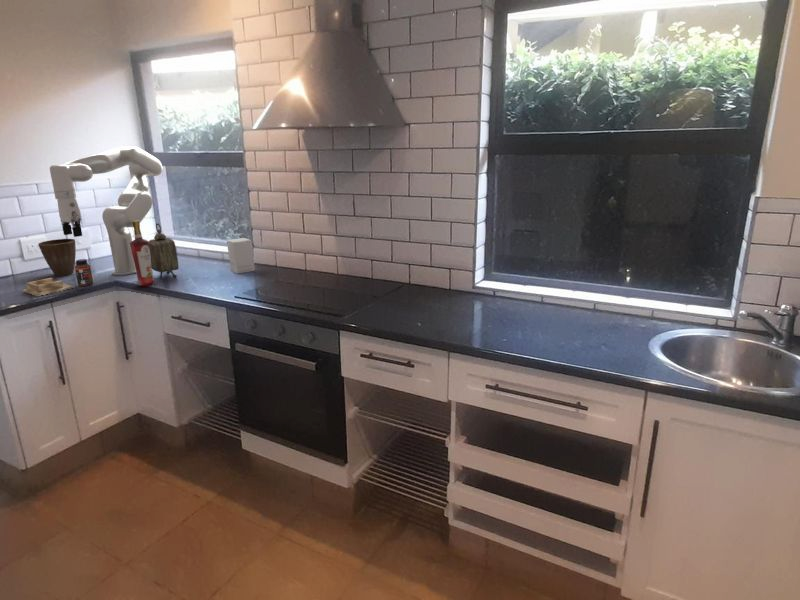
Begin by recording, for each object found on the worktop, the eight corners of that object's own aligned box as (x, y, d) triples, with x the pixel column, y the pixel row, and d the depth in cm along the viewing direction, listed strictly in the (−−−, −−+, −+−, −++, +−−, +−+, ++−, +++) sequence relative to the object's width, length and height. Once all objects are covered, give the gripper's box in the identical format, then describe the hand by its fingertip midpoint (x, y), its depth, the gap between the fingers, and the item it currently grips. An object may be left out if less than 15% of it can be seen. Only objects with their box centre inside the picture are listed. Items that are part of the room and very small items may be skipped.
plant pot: (60, 279, 245) (53, 245, 241) (38, 277, 250) (30, 243, 246) (88, 271, 259) (82, 239, 254) (66, 269, 264) (59, 238, 259)
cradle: (59, 284, 236) (57, 275, 235) (73, 288, 228) (71, 279, 227) (23, 291, 225) (21, 282, 224) (37, 296, 217) (35, 287, 216)
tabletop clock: (180, 278, 240) (172, 224, 233) (159, 282, 235) (150, 226, 227) (171, 273, 251) (162, 220, 244) (151, 276, 245) (141, 223, 238)
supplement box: (255, 271, 251) (252, 239, 246) (237, 274, 246) (233, 242, 241) (248, 267, 258) (244, 237, 253) (230, 270, 253) (226, 239, 248)
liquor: (148, 282, 235) (138, 219, 227) (159, 284, 232) (148, 220, 224) (133, 286, 229) (122, 221, 221) (144, 288, 226) (133, 222, 218)
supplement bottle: (86, 286, 231) (81, 261, 227) (75, 286, 232) (69, 261, 228) (96, 283, 236) (91, 258, 233) (85, 282, 237) (80, 258, 234)
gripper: (84, 195, 220) (91, 235, 225) (66, 193, 230) (73, 232, 235) (64, 196, 215) (72, 238, 219) (47, 195, 225) (55, 235, 229)
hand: (73, 235), depth 227 cm, fingers open, 9 cm apart
